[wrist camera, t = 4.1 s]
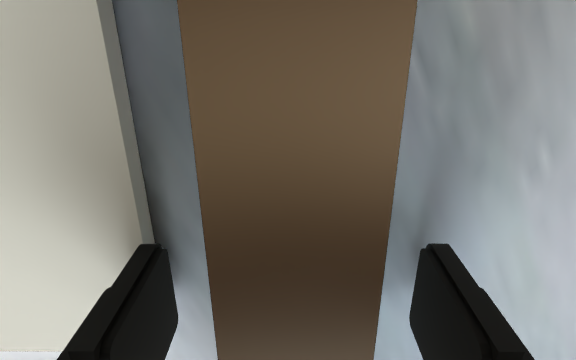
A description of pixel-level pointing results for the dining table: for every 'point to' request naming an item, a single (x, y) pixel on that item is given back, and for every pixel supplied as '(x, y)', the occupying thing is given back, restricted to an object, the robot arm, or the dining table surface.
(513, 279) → the dining table surface
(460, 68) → the dining table surface
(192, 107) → the brown wooden brick
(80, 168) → the board
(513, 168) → the dining table surface
